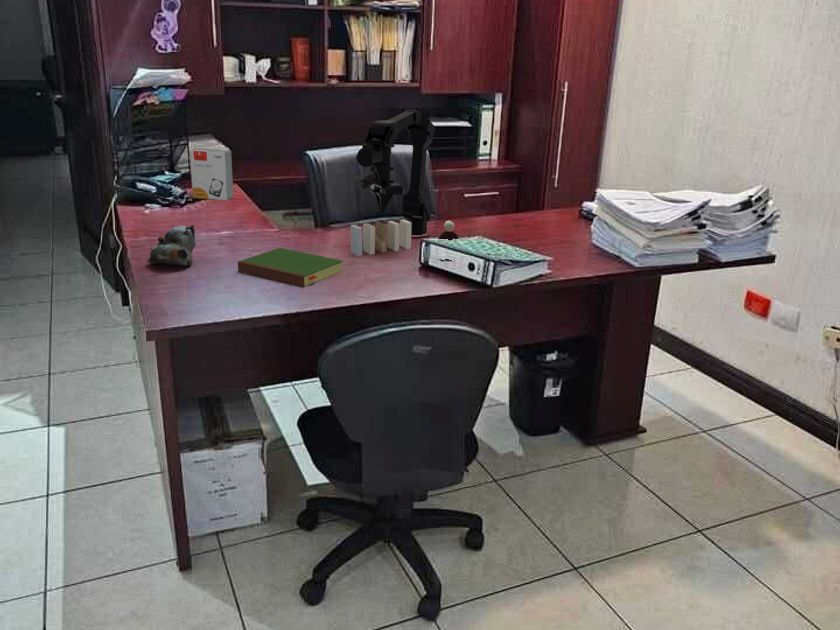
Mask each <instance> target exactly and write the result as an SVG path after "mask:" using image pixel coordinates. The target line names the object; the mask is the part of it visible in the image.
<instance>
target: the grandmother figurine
mask: <svg viewBox="0 0 840 630" xmlns="http://www.w3.org/2000/svg"><path fill="white" fill-rule="evenodd" d="M443 228H444V230H445V231H443V232H442V233H441V234H440V235H439V237H438V238H437V240H438V239H448V240H453V241H454V240H456V239H459V240H460V238H459V237H460V236H459V235H458V234H457V233H456V232H454V231H453V229H454V228H455V223H454V222H453V221H451V220H446V221H445V222H444V224H443Z"/></svg>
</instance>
